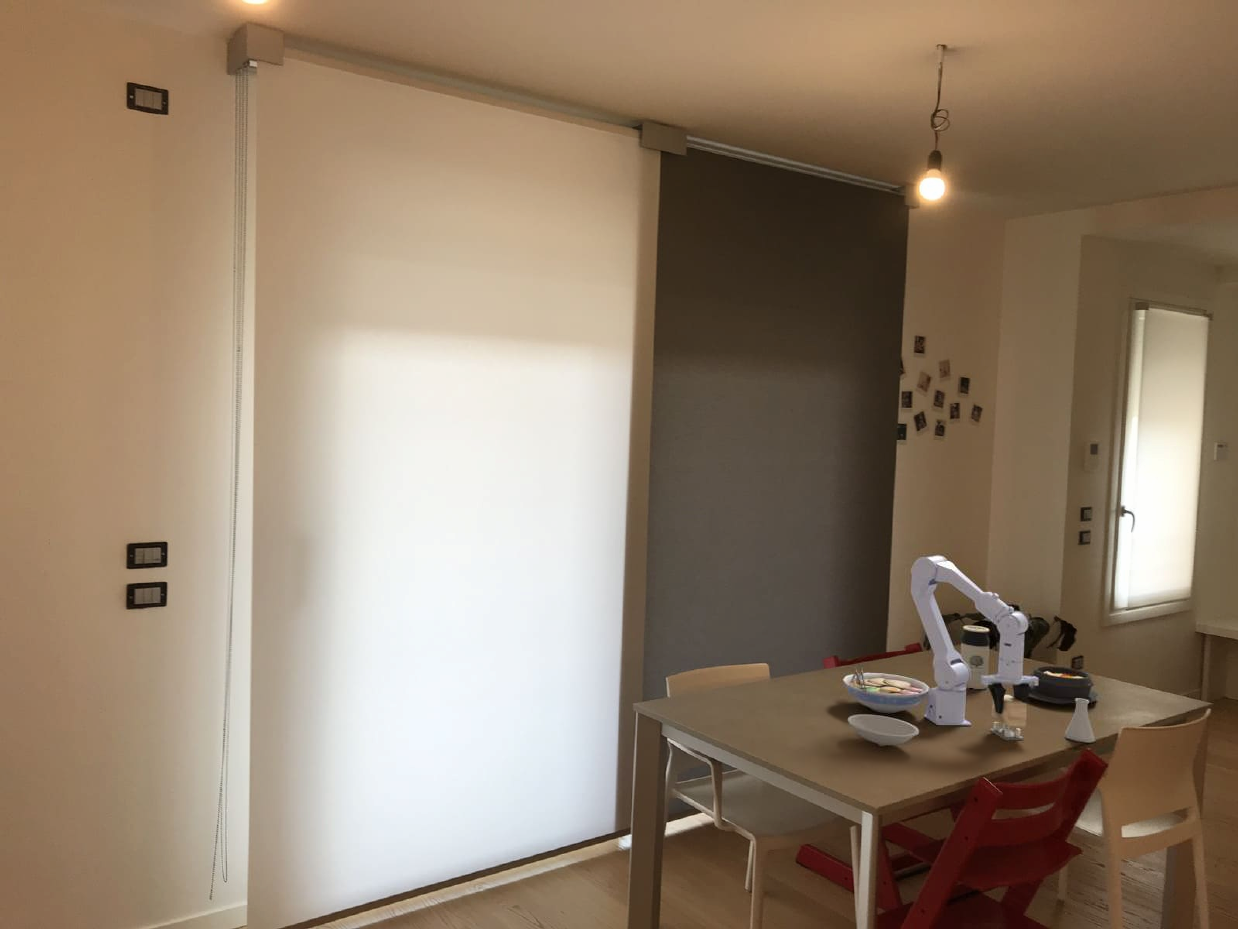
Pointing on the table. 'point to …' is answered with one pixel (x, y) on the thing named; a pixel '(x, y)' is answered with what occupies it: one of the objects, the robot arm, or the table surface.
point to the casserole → (1062, 685)
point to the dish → (883, 729)
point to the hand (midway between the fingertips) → (1007, 712)
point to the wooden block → (1011, 712)
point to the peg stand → (1006, 732)
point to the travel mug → (975, 654)
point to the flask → (1080, 724)
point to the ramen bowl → (885, 691)
